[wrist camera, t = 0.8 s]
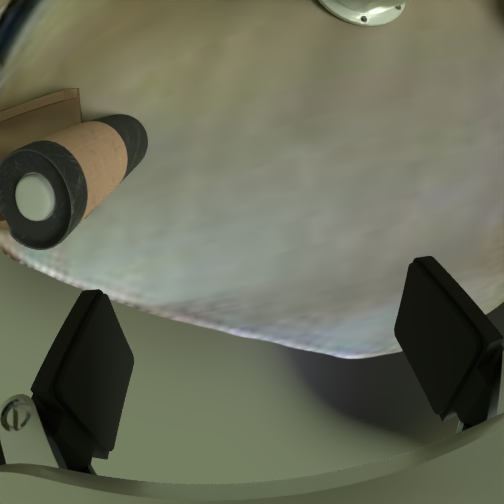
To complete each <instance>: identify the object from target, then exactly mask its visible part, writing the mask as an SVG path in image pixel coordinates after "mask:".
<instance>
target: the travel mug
mask: <svg viewBox="0 0 504 504" xmlns="http://www.w3.org/2000/svg"><path fill="white" fill-rule="evenodd" d="M147 146H148V139H147V134H146V131H145V129H144V127H143V126H142V124H141V123H140V122H139V121H138V120H137V119H135V118H133V117H131V116H128V115H114V116H109V117H104V118H100V119H95V120H91V121H87V122H84V123H81V124H78V125H75V126H72V127H70V128H67V129H64V130H62V131H59V132H56V133H54V134H51V135H49V136H46V137H44V138H41V139H39V140H37V141H34V142H32V143H30V144H27V145H25V146H23V147H21V148H19V149H17V150H15V151H13V152H11V153H10V154H9V155H7V156H6V157H5V158H4V159H3V161H2V162H1V163H0V212H1V213H2V215H3V216H4V218H5V220H6V222H7V224H8V226H9V228H10V234H11V236H12V237H13V239H15V240H16V241H17V242H19V243H20V244H22V245H24V246H26V247H28V248H31V249H35V250H46V249H50V248H53V247H55V246H56V245H58V244H59V243H61V242H62V241H63V240H64V239H65V238H66V237H67V236H68V235H69V234H70V233H71V232H72V231H73V230H74V229H75V228H76V227H77V225H78V224H79V223H80V222H81V221H82V220H83V219H84V218H85V217H86V216H87V215H88V214H89V213H90V212H91V211H92V210H93V209H94V208H95V207H96V206H97V205H98V204H99V203H100V202H101V201H103V200H104V199H105V198H106V197H107V196H108V195H109V194H110V193H111V192H112V191H113V190H114V189H115V188H116V187H117V186H118V185H119V184H120V183H121V182H122V181H123V180H124V179H125V178H126V176H127V175H128V174H129V173H130V172H131V171H132V170H133V169H134V168H135V167H136V166H137V165H138V164H139V163H140V162H141V160H142V159H143V157H144V156H145V153H146V151H147Z"/></svg>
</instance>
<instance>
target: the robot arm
mask: <svg viewBox="0 0 504 504" xmlns="http://www.w3.org/2000/svg"><path fill="white" fill-rule="evenodd" d="M318 1H319V2H320V4H322V5H323V6H324V7H325V8H326V9H327V10H328V11H329V12H331V13H332V14H333V15H335V16H336V17H338V18H340V19H342V20H344V21H346V22H349V23H352V24H355V25H360V26H370V27H373V26H380V25H383V24H387V23H389V22H391V21H393V20H395V19H396V18H397V17H398V16H399V15H400V14H401V13H402V11H403V10H404V7H405V4H406V3H407V2H410V1H413V0H318ZM395 7H396V8H395ZM360 18H361V19H362V20H363V22H362V21H361V19H360ZM394 332H395V337H396V339H397V341H398V342H399V344H400V346H401V348H402V350H403V352H404V353H405V355H406V357H407V359H408V361H409V363H410V365H411V367H412V369H413V371H414V373H415V375H416V377H417V378H418V380H419V382H420V384H421V386H422V388H423V390H424V392H425V394H426V396H427V398H428V401H429V402H430V405H431V407H432V409H433V411H434V412H435V413H436V414H439V415H440V417H441V419H442V421H445V420H448V419H451V418H453V417H456V415H458V417H459V419H460V422H459V425H458V430H457V433H456V434H455V435H452V436H450V437H447V438H445V439H443V440H440V441H437V442H435V443H432V444H429V445H427V446H424V447H421V448H418V449H415V450H412V451H409V452H406V453H403V454H401V455H397V456H394V457H391V458H387V459H383V460H380V461H376V462H373V463H369V464H365V465H361V466H357V467H352V468H348V469H344V470H339V471H334V472H329V473H324V474H318V475H313V476H306V477H299V478H292V479H285V480H276V481H266V482H254V483H239V484H172V483H156V482H146V481H136V480H127V479H120V478H112V477H105V476H98V475H97V474H96V472H95V470H94V469H93V467H92V465H91V459H92V457H95V458H101V459H108V454H109V451H112V450H113V449H114V445H115V440H116V436H117V431H118V426H119V422H120V417H121V413H122V409H123V405H124V401H125V397H126V393H127V388H128V385H129V381H130V377H131V373H132V369H133V365H134V357H133V354H132V351H131V349H130V347H129V345H128V343H127V341H126V338H125V336H124V334H123V331H122V329H121V327H120V324H119V322H118V319H117V317H116V315H115V312H114V310H113V307H112V305H111V302H110V300H109V297H108V295H107V294H103V292H102V291H101V290H99V289H97V290H84V291H82V293H81V294H80V296H79V297H78V299H77V301H76V303H75V304H74V306H73V308H72V309H71V311H70V313H69V315H68V316H67V318H66V320H65V322H64V324H63V325H62V328H61V329H60V331H59V333H58V335H57V336H56V338H55V340H54V342H53V344H52V346H51V348H50V350H49V352H48V354H47V356H46V358H45V360H44V362H43V364H42V366H41V368H40V370H39V372H38V374H37V376H36V378H35V381H34V383H33V385H32V387H31V391H32V392H33V395H32V397H31V398H30V397H29V396H27V395H23V394H19V395H14V396H12V397H10V398H9V399H7V400H6V401H5V402H4V403H3V404H2V405H1V407H0V504H504V348H503V347H502V345H501V343H502V341H503V336H502V335H501V334H500V332H499V331H498V330H497V329H496V328H495V326H494V325H493V324H492V322H491V321H490V320H489V319H488V318H487V316H486V315H485V314H484V313H483V312H482V310H481V309H480V308H479V307H478V306H477V305H476V303H475V302H474V301H473V300H472V299H471V298H470V296H469V295H468V294H467V293H466V292H465V291H464V290H463V289H462V287H461V286H460V285H459V284H458V283H457V282H456V281H455V280H454V279H453V278H452V276H451V275H450V274H449V273H448V272H447V271H446V270H445V269H444V268H443V267H442V266H441V265H440V264H439V263H438V262H437V261H436V260H435V259H434V258H433V257H432V256H426V257H418V258H415V259H414V260H413V263H411V264H410V265H409V267H408V272H407V277H406V281H405V286H404V290H403V295H402V299H401V303H400V308H399V312H398V316H397V319H396V323H395V328H394Z"/></svg>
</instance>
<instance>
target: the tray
mask: <svg viewBox="0 0 504 504" xmlns="http://www.w3.org/2000/svg"><path fill="white" fill-rule="evenodd" d="M81 123H82V116H81V107H80V97H79V88H77V89H67V90H61V91H58V92H55V93H52V94H49V95H46V96H43V97H40V98H37V99H34V100H31V101H28V102H25V103H23V104H20V105H17V106H15V107H12V108H10V109H7V110H5V111H2V112H0V163H1V162H2V161H3V159H4V158H5V157H6V156H7V155H9V154H10V153H11V152H13V151H15V150H17V149H19V148H21V147H23V146H25V145H27V144H30V143H32V142H34V141H37V140H39V139H41V138H44V137H46V136H49V135H51V134H54V133H56V132H59V131H62V130H64V129H67V128H70V127H72V126H75V125H78V124H81ZM96 207H97V206H96ZM96 207H95V208H96ZM95 208H94V209H95ZM94 209H93V210H94ZM93 210H92V211H93ZM92 211H91V212H92ZM91 212H90V213H91ZM90 213H89V214H90ZM89 214H88V215H89ZM88 215H87V216H88ZM87 216H86V217H87ZM86 217H85V218H86ZM85 218H84V219H85ZM6 228H9V226H8V224H7V222H6V220H5V218H4V216H3V215H2V213H1V212H0V229H6Z"/></svg>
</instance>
